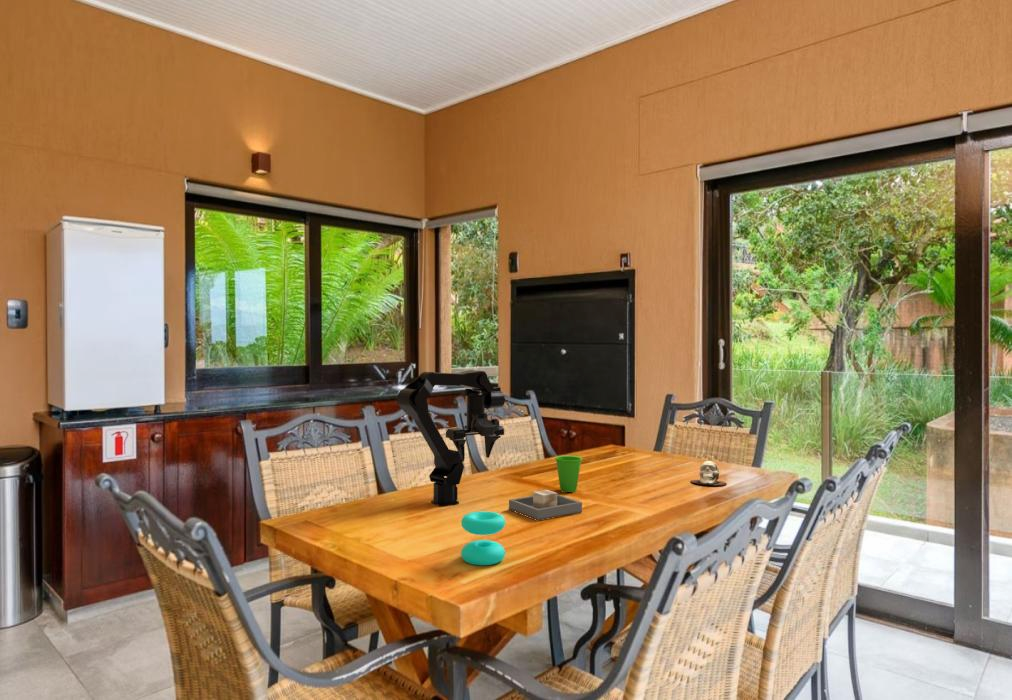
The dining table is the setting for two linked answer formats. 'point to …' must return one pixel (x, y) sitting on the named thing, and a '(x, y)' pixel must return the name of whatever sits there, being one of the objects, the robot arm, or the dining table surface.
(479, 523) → the donuts
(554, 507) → the tray
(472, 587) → the dining table surface
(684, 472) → the dining table surface
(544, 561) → the dining table surface
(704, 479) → the skull
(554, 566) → the dining table surface
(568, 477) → the cup
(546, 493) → the block
